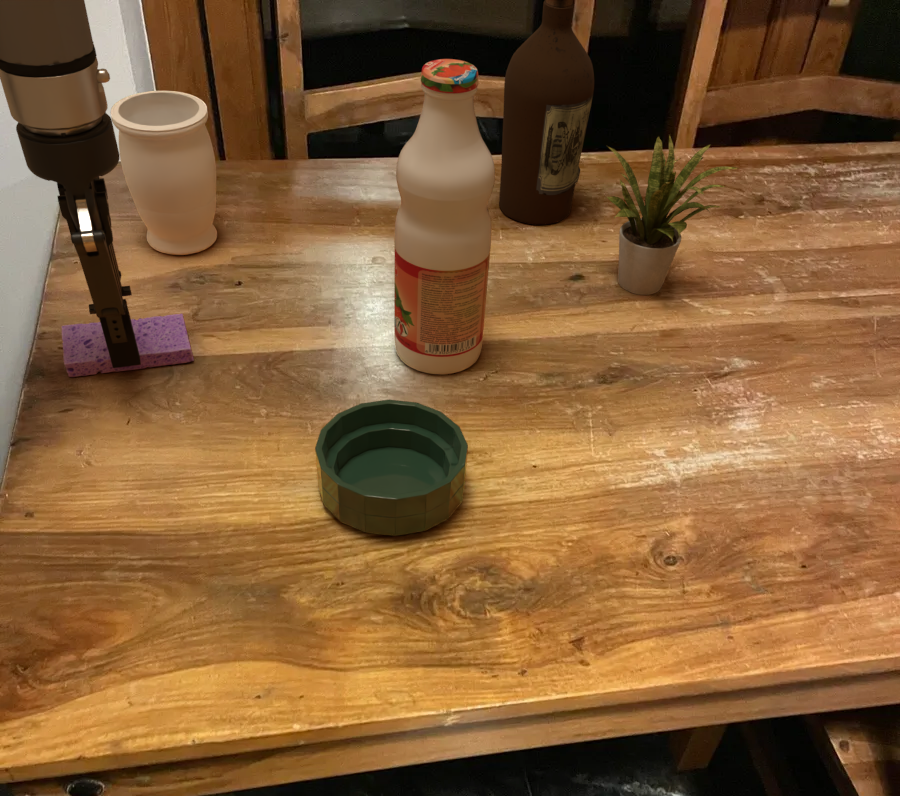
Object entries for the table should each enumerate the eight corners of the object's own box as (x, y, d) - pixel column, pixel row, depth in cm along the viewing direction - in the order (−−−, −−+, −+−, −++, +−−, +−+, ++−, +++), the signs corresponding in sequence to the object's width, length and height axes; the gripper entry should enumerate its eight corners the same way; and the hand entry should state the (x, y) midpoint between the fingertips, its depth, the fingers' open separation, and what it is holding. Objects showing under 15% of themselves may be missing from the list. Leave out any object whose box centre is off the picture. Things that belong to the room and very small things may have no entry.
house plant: (732, 307, 108) (776, 166, 96) (631, 331, 104) (662, 187, 92) (665, 248, 117) (698, 111, 104) (569, 267, 113) (591, 127, 100)
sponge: (65, 340, 98) (61, 324, 97) (187, 326, 101) (184, 310, 100) (67, 379, 94) (62, 363, 93) (194, 363, 97) (191, 347, 95)
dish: (336, 551, 80) (333, 509, 76) (307, 453, 88) (303, 411, 85) (481, 526, 83) (486, 484, 79) (441, 433, 91) (443, 391, 87)
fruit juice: (456, 387, 96) (474, 100, 75) (377, 359, 99) (373, 74, 77) (496, 342, 102) (523, 63, 81) (420, 316, 104) (427, 39, 83)
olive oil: (478, 201, 123) (493, -19, 104) (539, 181, 127) (565, -32, 108) (529, 236, 117) (555, 11, 98) (591, 214, 122) (628, -5, 103)
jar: (134, 222, 115) (105, 93, 104) (218, 213, 117) (199, 85, 106) (143, 266, 108) (114, 133, 97) (233, 255, 111) (214, 124, 100)
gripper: (114, 147, 73) (170, 395, 91) (106, 83, 81) (159, 322, 99) (12, 155, 71) (90, 406, 89) (14, 89, 79) (85, 331, 97)
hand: (126, 362), depth 94 cm, fingers closed
